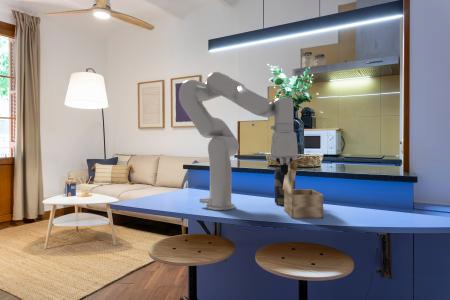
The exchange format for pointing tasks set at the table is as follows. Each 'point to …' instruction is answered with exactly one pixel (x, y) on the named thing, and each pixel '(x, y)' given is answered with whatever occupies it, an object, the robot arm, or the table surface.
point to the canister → (279, 187)
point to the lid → (290, 178)
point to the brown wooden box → (303, 204)
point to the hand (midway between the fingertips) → (284, 174)
